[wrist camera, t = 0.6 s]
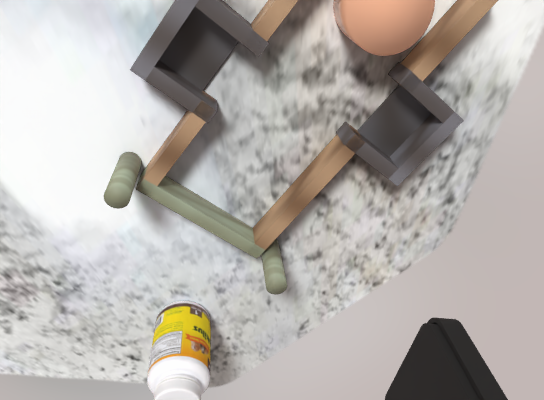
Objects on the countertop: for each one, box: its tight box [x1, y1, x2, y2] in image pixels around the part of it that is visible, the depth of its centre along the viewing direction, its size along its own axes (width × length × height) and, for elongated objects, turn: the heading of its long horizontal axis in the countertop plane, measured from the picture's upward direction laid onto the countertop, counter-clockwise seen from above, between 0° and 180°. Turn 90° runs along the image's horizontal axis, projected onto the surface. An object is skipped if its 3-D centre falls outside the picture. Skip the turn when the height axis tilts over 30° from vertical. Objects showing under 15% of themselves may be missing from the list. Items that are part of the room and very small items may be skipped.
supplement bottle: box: [147, 301, 211, 400], centre depth 43 cm, size 6×6×10 cm
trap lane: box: [104, 0, 498, 294], centre depth 34 cm, size 28×23×6 cm
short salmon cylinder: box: [333, 0, 435, 56], centre depth 32 cm, size 6×6×4 cm
